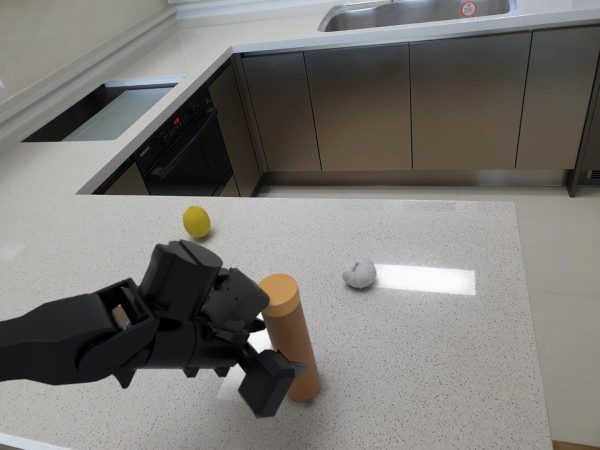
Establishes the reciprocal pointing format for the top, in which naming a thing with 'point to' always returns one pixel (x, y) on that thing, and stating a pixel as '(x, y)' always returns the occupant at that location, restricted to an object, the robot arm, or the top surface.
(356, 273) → the garlic
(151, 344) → the robot arm
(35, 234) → the top surface
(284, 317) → the orange cylinder
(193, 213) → the lemon
